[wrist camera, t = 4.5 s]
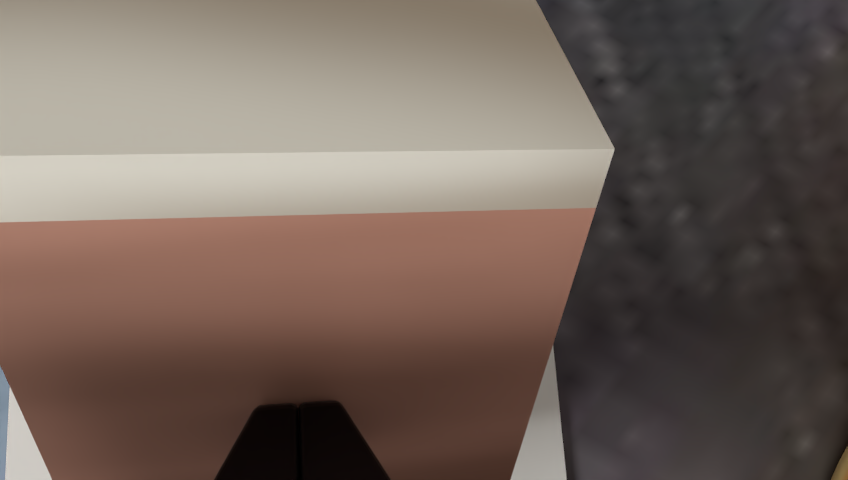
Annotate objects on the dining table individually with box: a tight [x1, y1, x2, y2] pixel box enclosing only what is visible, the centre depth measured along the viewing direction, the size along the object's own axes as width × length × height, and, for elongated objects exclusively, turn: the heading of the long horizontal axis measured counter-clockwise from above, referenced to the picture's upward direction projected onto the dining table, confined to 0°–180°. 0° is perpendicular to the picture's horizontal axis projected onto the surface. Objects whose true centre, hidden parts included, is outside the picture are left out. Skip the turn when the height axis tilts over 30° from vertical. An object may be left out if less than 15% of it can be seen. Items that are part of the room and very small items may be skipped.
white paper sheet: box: [5, 346, 567, 480], centre depth 15 cm, size 14×10×1 cm
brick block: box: [0, 0, 615, 480], centre depth 10 cm, size 5×5×8 cm
